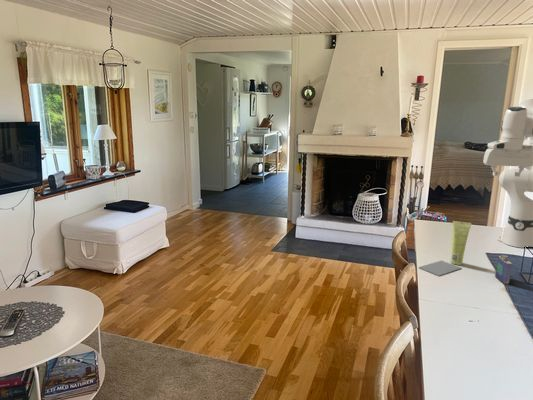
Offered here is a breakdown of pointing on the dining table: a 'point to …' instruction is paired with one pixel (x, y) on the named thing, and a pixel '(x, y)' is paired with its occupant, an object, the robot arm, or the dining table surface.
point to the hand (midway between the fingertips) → (506, 175)
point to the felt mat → (440, 268)
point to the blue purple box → (503, 269)
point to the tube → (459, 241)
